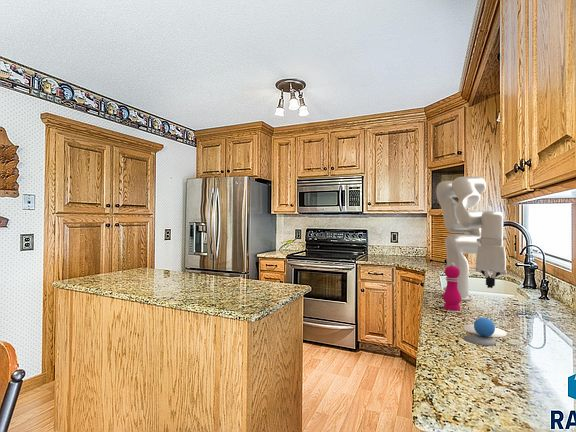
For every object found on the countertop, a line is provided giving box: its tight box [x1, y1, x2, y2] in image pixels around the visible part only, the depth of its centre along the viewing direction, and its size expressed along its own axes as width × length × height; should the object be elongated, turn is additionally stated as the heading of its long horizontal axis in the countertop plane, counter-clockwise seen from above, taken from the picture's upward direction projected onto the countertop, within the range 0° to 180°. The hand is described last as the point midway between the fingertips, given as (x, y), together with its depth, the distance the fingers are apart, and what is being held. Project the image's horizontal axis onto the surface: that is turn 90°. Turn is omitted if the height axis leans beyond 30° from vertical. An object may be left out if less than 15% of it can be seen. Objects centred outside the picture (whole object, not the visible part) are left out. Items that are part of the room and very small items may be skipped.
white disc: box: [462, 323, 508, 338], centre depth 113 cm, size 13×13×1 cm
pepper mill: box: [442, 263, 462, 312], centre depth 142 cm, size 7×7×20 cm
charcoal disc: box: [463, 334, 497, 347], centre depth 104 cm, size 9×9×1 cm
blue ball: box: [473, 317, 496, 338], centre depth 108 cm, size 6×6×6 cm
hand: (490, 287), depth 132 cm, fingers closed
